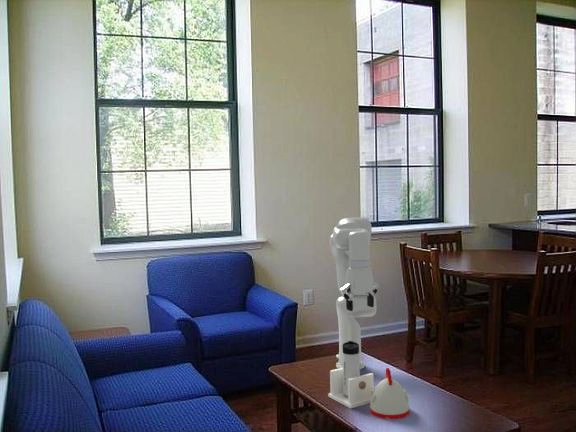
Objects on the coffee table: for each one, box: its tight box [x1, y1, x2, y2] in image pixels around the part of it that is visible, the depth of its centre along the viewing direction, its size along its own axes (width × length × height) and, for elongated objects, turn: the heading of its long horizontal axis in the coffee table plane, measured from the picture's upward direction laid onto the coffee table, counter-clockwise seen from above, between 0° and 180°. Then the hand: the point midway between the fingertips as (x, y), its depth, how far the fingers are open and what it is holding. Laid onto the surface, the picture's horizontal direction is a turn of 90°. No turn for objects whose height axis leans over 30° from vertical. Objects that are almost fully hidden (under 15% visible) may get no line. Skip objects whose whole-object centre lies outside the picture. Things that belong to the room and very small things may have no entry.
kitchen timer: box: [369, 367, 410, 420], centre depth 202 cm, size 14×14×15 cm
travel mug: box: [342, 341, 361, 398], centre depth 214 cm, size 6×7×20 cm
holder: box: [327, 368, 375, 410], centre depth 214 cm, size 14×12×10 cm
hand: (360, 308), depth 216 cm, fingers open, 9 cm apart
